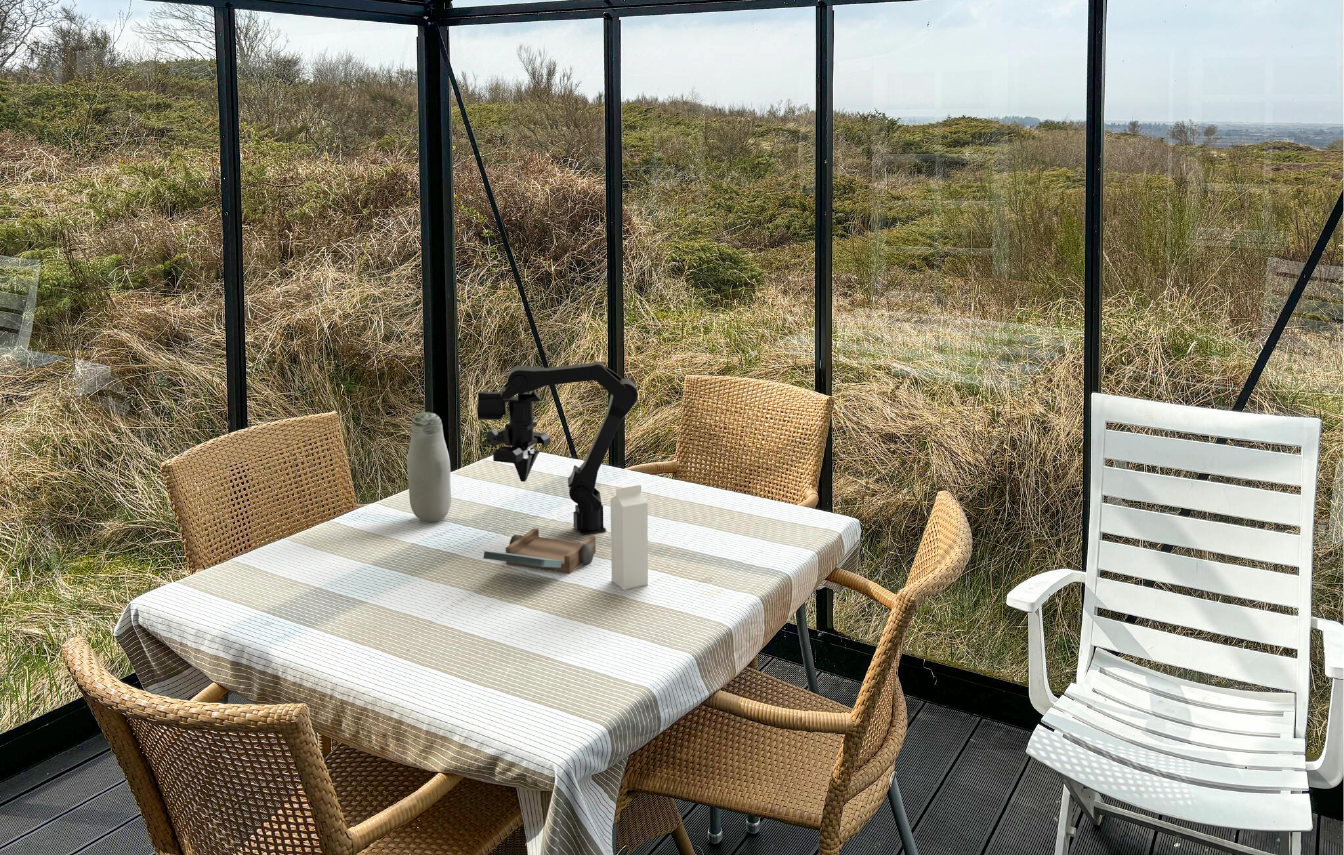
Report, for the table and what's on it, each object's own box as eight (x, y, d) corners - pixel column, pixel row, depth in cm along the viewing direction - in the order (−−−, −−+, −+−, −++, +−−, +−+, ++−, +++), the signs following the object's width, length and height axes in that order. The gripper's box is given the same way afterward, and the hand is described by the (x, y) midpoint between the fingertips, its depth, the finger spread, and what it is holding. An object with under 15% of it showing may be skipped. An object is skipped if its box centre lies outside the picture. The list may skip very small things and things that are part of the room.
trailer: (528, 543, 275) (527, 525, 274) (602, 553, 269) (602, 535, 268) (499, 563, 263) (498, 545, 262) (576, 574, 256) (576, 555, 255)
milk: (648, 585, 250) (648, 488, 245) (623, 590, 248) (622, 492, 242) (635, 575, 256) (635, 480, 250) (610, 580, 253) (610, 484, 247)
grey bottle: (403, 522, 290) (396, 414, 283) (433, 511, 298) (427, 406, 291) (430, 529, 285) (424, 419, 278) (460, 518, 293) (455, 411, 286)
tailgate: (505, 552, 259) (484, 551, 250) (561, 560, 255) (542, 559, 245) (504, 559, 259) (483, 558, 250) (560, 567, 254) (541, 566, 245)
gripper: (510, 407, 287) (512, 467, 291) (472, 425, 270) (474, 488, 274) (550, 411, 283) (552, 472, 287) (514, 429, 267) (516, 493, 270)
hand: (523, 481), depth 280 cm, fingers closed
